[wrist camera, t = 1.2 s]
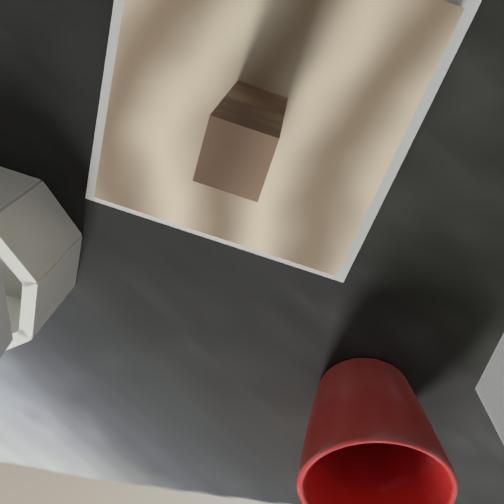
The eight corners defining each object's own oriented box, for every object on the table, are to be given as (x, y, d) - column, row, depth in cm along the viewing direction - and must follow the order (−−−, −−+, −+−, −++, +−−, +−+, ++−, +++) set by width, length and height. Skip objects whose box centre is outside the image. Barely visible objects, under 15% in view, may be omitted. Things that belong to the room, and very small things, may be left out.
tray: (481, -7, 27) (484, -7, 26) (342, 278, 37) (343, 282, 36) (137, -133, 26) (133, -136, 25) (88, 195, 36) (85, 198, 35)
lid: (458, 7, 27) (531, 16, 18) (335, 267, 36) (343, 361, 27) (148, -106, 26) (62, -156, 17) (100, 190, 35) (27, 260, 26)
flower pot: (410, 442, 44) (434, 549, 36) (291, 423, 45) (287, 525, 36) (444, 353, 39) (481, 454, 31) (309, 333, 40) (309, 428, 31)
